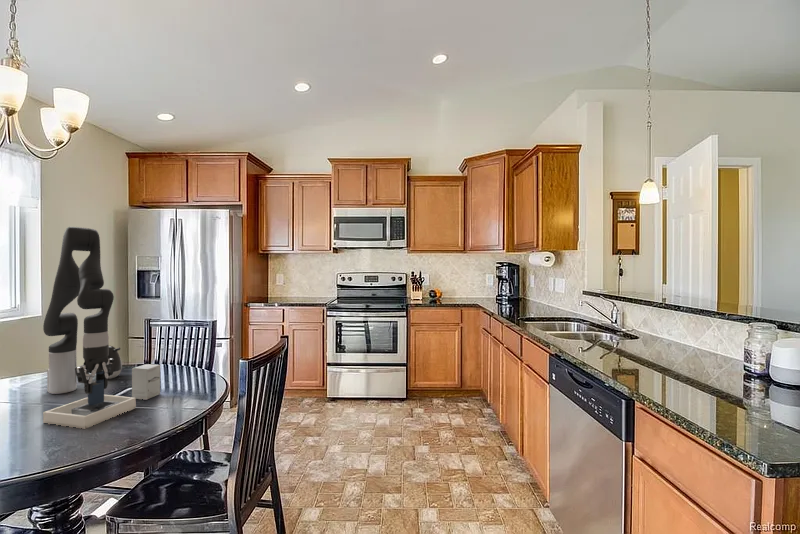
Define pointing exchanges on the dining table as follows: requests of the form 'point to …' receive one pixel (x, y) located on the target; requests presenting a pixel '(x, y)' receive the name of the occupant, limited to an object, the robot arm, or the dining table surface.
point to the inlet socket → (92, 408)
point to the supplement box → (145, 381)
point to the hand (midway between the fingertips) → (96, 390)
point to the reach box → (66, 417)
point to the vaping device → (97, 390)
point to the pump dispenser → (118, 365)
